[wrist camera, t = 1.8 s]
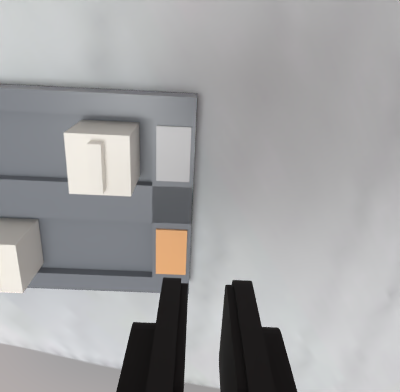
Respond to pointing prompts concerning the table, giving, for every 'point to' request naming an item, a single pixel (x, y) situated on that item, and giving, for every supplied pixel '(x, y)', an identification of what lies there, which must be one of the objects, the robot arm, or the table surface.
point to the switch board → (100, 204)
